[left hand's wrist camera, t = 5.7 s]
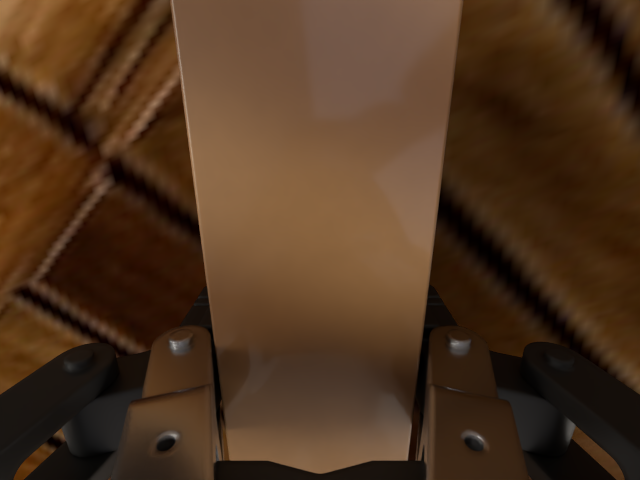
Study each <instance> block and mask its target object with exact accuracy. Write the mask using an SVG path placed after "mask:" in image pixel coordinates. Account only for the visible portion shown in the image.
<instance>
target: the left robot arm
mask: <svg viewBox="0 0 640 480" xmlns="http://www.w3.org/2000/svg"><path fill="white" fill-rule="evenodd" d="M415 397H416V400H417V403H418V406H419V409H420V410H419V418H418V433H417V449H416V461H369V462H365V463H361V464H358V465H354V466H350V467H346V468H342V469H339V470H335V471H331V472H327V473H322V474H318V473H313V472H309V471H305V470H301V469H298V468H294V467H290V466H286V465H282V464H279V463H275V462H271V461H224V448H223V433H222V418H221V410H220V402H221V399H222V398H221V390H220V382H219V374H218V367H217V359H216V351H215V343H214V336H213V328H212V320H211V313H210V305H209V297H208V289H207V286H206V287H205V288H204V289H203V290H202V292H201V293H200V295H199V297H198V298H197V300H196V301H195V303H194V306H192V308H191V309H190V311H189V312H188V314H187V315H186V317H185V319H184V320H183V322H182V323H181V325H180V326H179V327H176V328H173V329H171V330H168V331H166V332H165V333H163V334H161V335H160V336H159V337H158V338H157V339H156V340H155V341H154V343H153V345H152V348H151V350H149V351H146V352H142V353H138V354H133V355H128V356H123V357H118V358H116V354H115V350H114V348H113V347H112V346H111V345H109V344H106V343H90V344H85V345H81V346H78V347H75V348H72V349H70V350H68V351H66V352H64V353H62V354H60V355H59V356H57V357H56V358H54V359H53V360H51V361H50V362H48V363H47V364H45V365H44V366H42V367H41V368H39V369H38V370H36V371H35V372H33V373H32V374H30V375H29V376H27V377H26V378H24V379H23V380H21V381H20V382H19V383H17V384H16V385H14V386H13V387H11V388H10V389H8V390H7V391H5V392H4V393H2V394H1V395H0V480H13V479H14V476H15V474H16V472H17V470H18V468H19V467H20V465H21V464H22V463H23V462H24V460H25V459H27V458H28V457H29V456H30V455H31V454H32V453H33V452H34V451H35V450H37V449H38V448H39V447H40V446H41V445H42V444H43V443H45V442H46V441H47V440H48V439H49V438H50V437H51V436H53V435H54V434H55V433H56V432H57V431H58V430H59V429H61V428H62V430H63V433H64V436H65V439H66V441H65V442H64V443H63V444H62V445H61V446H60V447H59V448H58V449H57V450H55V451H54V452H53V453H52V454H51V455H50V456H49V457H48V458H47V459H46V460H45V461H44V462H42V463H41V464H40V465H39V466H38V467H37V468H36V469H35V470H34V471H33V472H32V473H31V474H29V475H28V476H27V477H26V478H25V479H24V480H108V479H109V477H110V476H111V475H112V476H111V480H529V476H530V477H531V479H532V480H616V479H615V478H614V477H613V476H612V475H611V474H609V473H608V472H607V471H606V470H605V469H604V468H603V467H602V466H601V465H600V464H599V463H598V462H596V461H595V460H594V459H593V458H592V457H591V456H590V455H589V454H588V453H587V452H586V451H585V450H583V449H582V448H581V447H580V446H579V445H578V444H577V443H576V442H575V441H574V440H573V439H572V438H571V437H572V434H573V432H574V429H575V426H577V427H578V428H579V429H581V430H582V431H583V432H584V433H585V434H586V435H587V436H589V437H590V438H591V439H592V440H593V441H594V442H595V443H597V444H598V445H599V446H600V447H601V448H602V449H603V450H605V451H606V452H607V453H608V454H609V455H610V456H611V457H612V458H613V459H614V460H615V461H616V462H617V464H618V465H619V467H620V468H621V470H622V472H623V474H624V478H625V480H640V395H639V394H638V393H636V392H635V391H633V390H632V389H630V388H629V387H627V386H626V385H624V384H623V383H621V382H620V381H619V380H617V379H616V378H614V377H613V376H611V375H610V374H608V373H607V372H605V371H604V370H602V369H601V368H599V367H598V366H596V365H595V364H593V363H592V362H590V361H589V360H587V359H586V358H584V357H583V356H581V355H580V354H578V353H577V352H575V351H573V350H571V349H569V348H566V347H564V346H561V345H557V344H554V343H548V342H534V343H530V344H528V345H527V346H526V347H525V349H524V352H523V356H522V358H521V357H516V356H511V355H506V354H502V353H497V352H493V351H490V350H489V348H488V345H487V343H486V341H485V340H484V339H483V338H482V337H481V336H480V335H479V334H477V333H476V332H474V331H472V330H469V329H467V328H464V327H460V326H458V325H457V323H456V322H455V320H454V319H453V317H452V315H451V314H450V312H449V311H448V309H447V307H446V306H445V305H444V303H443V301H442V299H441V298H440V296H439V295H438V293H437V291H436V290H435V288H434V287H432V286H431V285H429V288H428V296H427V305H426V313H425V321H424V330H423V338H422V346H421V354H420V363H419V371H418V379H417V387H416V396H415ZM528 475H529V476H528Z"/></svg>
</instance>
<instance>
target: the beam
mask: <svg viewBox="0 0 640 480" xmlns="http://www.w3.org/2000/svg"><path fill="white" fill-rule="evenodd" d="M170 3H171V11H172V19H173V27H174V34H175V42H176V50H177V57H178V65H179V73H180V81H181V88H182V96H183V104H184V112H185V119H186V127H187V135H188V142H189V150H190V158H191V166H192V173H193V181H194V189H195V197H196V204H197V212H198V220H199V228H200V235H201V243H202V251H203V258H204V266H205V274H206V282H207V289H208V297H209V305H210V313H211V320H212V328H213V336H214V343H215V351H216V359H217V367H218V374H219V382H220V390H221V398H222V405H223V413H224V421H225V429H226V436H227V444H228V452H229V459H230V461H271V462H275V463H279V464H282V465H286V466H290V467H294V468H298V469H301V470H305V471H309V472H313V473H318V474H322V473H327V472H331V471H335V470H339V469H342V468H346V467H350V466H354V465H358V464H361V463H365V462H369V461H408V453H409V445H410V437H411V429H412V420H413V412H414V404H415V396H416V387H417V379H418V371H419V363H420V354H421V346H422V338H423V330H424V321H425V313H426V305H427V296H428V288H429V280H430V272H431V263H432V255H433V247H434V239H435V230H436V222H437V214H438V206H439V197H440V189H441V181H442V173H443V164H444V156H445V148H446V139H447V131H448V123H449V115H450V106H451V98H452V90H453V82H454V73H455V65H456V57H457V49H458V40H459V32H460V24H461V16H462V7H463V0H170Z"/></svg>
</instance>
